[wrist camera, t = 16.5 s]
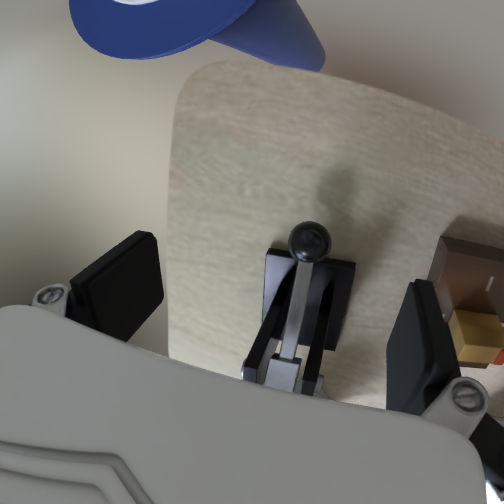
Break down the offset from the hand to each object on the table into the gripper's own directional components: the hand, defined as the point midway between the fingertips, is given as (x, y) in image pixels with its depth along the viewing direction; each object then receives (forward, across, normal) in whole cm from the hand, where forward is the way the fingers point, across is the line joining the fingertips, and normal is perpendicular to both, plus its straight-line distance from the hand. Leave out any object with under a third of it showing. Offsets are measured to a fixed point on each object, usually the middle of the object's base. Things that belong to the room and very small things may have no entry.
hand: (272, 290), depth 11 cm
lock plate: (+16, -16, +9) cm, 25 cm away
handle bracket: (+16, 0, +12) cm, 20 cm away
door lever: (+11, 0, +9) cm, 14 cm away
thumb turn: (+13, -16, +9) cm, 23 cm away
